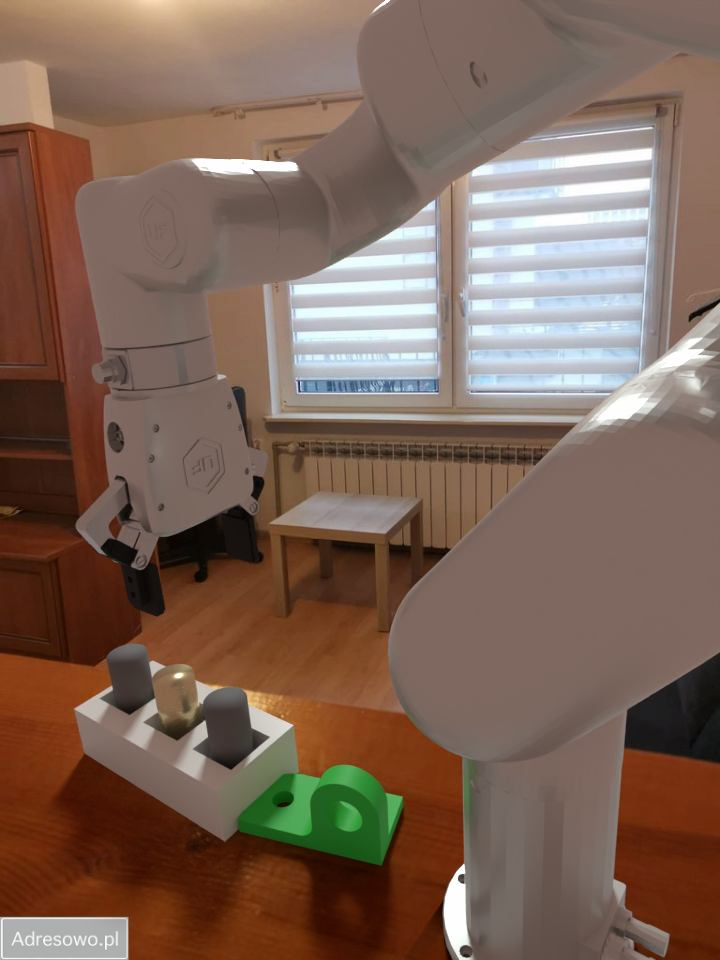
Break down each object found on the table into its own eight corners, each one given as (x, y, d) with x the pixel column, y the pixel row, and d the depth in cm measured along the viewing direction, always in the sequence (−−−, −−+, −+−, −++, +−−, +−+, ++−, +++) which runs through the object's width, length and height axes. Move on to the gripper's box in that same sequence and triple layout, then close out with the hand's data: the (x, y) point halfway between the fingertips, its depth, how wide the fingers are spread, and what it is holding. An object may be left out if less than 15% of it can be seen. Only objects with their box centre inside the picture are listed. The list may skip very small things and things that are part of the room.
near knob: (264, 754, 61) (256, 695, 59) (233, 780, 58) (224, 719, 56) (234, 739, 63) (225, 682, 61) (203, 764, 60) (193, 704, 58)
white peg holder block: (299, 780, 64) (293, 725, 62) (226, 850, 57) (216, 791, 55) (161, 709, 75) (152, 660, 73) (86, 761, 68) (74, 708, 66)
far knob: (164, 704, 68) (154, 650, 66) (133, 725, 66) (122, 670, 64) (141, 692, 70) (130, 639, 68) (110, 712, 68) (98, 658, 66)
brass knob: (211, 728, 65) (202, 671, 63) (180, 751, 62) (170, 693, 60) (185, 714, 67) (175, 659, 65) (154, 736, 64) (143, 680, 62)
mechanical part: (403, 815, 59) (401, 737, 56) (382, 875, 54) (378, 792, 51) (272, 785, 63) (264, 710, 60) (240, 838, 58) (229, 759, 55)
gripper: (85, 397, 42) (138, 649, 47) (283, 347, 55) (306, 550, 60) (18, 389, 46) (73, 621, 52) (216, 345, 59) (244, 534, 65)
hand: (199, 583), depth 56 cm, fingers open, 9 cm apart
